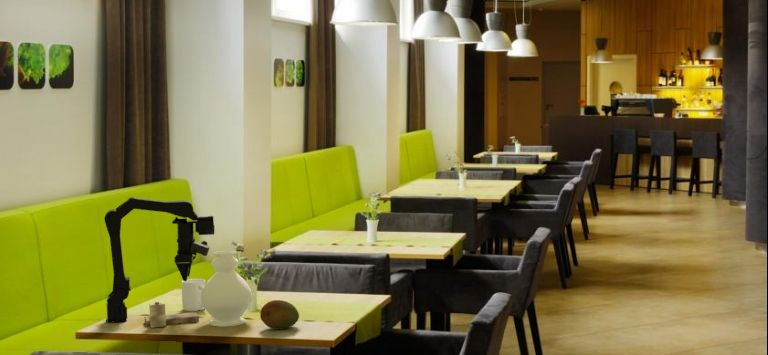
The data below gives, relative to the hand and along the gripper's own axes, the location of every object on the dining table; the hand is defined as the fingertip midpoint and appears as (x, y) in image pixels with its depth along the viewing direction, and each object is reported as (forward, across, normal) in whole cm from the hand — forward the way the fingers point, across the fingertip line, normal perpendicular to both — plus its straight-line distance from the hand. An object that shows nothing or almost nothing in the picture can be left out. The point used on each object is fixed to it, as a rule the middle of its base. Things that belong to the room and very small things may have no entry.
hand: (186, 278), depth 401 cm
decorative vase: (+14, -13, -15) cm, 24 cm away
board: (+14, -9, +4) cm, 17 cm away
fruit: (+13, -26, -34) cm, 45 cm away
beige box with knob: (+14, -13, +9) cm, 21 cm away
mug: (+14, +11, -2) cm, 18 cm away
